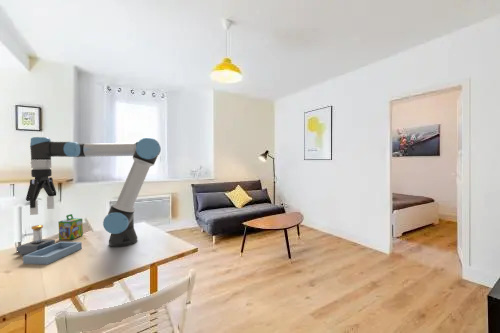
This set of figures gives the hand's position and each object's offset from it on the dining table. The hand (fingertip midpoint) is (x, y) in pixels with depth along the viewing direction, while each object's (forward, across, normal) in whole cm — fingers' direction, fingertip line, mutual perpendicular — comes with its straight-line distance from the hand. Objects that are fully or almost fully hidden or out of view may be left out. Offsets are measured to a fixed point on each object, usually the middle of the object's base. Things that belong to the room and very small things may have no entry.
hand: (42, 211), depth 118 cm
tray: (+24, -5, +2) cm, 25 cm away
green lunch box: (+24, -36, -3) cm, 43 cm away
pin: (+24, -13, -10) cm, 29 cm away
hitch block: (+24, -14, -12) cm, 31 cm away
